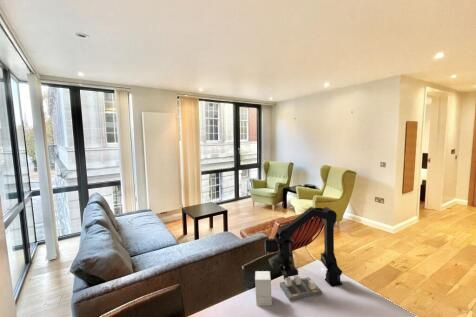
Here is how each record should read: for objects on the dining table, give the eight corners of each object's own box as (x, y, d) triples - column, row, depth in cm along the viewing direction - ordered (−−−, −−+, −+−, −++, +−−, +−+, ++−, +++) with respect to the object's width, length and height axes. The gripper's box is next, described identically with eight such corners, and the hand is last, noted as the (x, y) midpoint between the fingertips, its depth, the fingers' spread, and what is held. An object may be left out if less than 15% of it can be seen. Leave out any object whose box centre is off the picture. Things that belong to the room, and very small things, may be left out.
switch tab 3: (312, 286, 116) (312, 279, 116) (315, 288, 114) (315, 282, 114) (308, 286, 116) (308, 280, 115) (311, 289, 113) (310, 283, 113)
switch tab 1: (289, 283, 119) (289, 277, 119) (291, 285, 117) (291, 279, 117) (285, 284, 119) (285, 278, 119) (287, 286, 116) (287, 280, 116)
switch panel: (308, 280, 124) (308, 276, 124) (321, 294, 113) (321, 290, 113) (279, 286, 121) (279, 282, 121) (289, 301, 109) (289, 297, 109)
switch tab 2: (298, 281, 120) (298, 275, 120) (300, 284, 118) (300, 278, 118) (294, 282, 120) (294, 276, 120) (296, 285, 118) (296, 278, 117)
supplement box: (271, 295, 114) (270, 270, 113) (271, 306, 106) (271, 279, 106) (256, 295, 114) (255, 270, 114) (255, 305, 107) (254, 279, 106)
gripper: (264, 245, 128) (265, 272, 129) (276, 262, 110) (278, 293, 111) (282, 242, 130) (283, 269, 131) (298, 258, 112) (299, 289, 113)
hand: (285, 279), depth 122 cm, fingers closed
